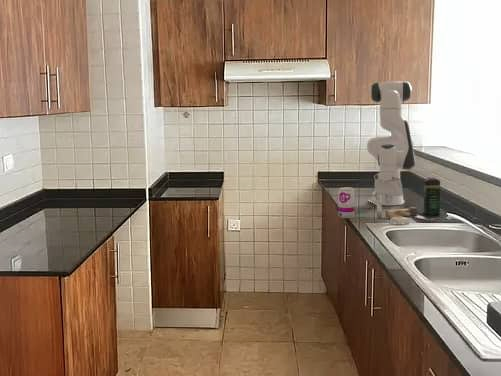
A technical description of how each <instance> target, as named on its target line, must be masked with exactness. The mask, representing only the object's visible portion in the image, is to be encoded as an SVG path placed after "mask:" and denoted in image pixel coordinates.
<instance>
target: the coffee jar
mask: <svg viewBox="0 0 501 376" xmlns="http://www.w3.org/2000/svg"><path fill="white" fill-rule="evenodd" d="M423 212H424V214H426V215H432V216H433V215H439V214H441V180H440V179H438V178H436V177H427V178H425V179H424V180H423Z"/></svg>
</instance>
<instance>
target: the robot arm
mask: <svg viewBox="0 0 501 376" xmlns="http://www.w3.org/2000/svg"><path fill="white" fill-rule="evenodd" d="M370 87H371V88H370V89H369V95H370V98H371V100H372V101H373V102H374V103H375V102H376V103H379V102H380V104H379V121H380V122H379V124H380V127H381V128H382V129H383V130H385V131H388V132H389V133H391V135H390V136H389V135H388V136H387V135H386V136H385V135H383V136H376V137H371V138H370V139H369V140H368V142H367V144H366V149H367V151H368V154H370V155H371V156H372V157H373V158H374V159H375V160H376V162H377V164H378V166H379V169H378V171H379V173H376V174H375V175H374V176H373V178H374V190H373V191H372V193H371V194H372V195H371V199H368V200H367V202H368V201H369V202H368V203H370V202H371V203H370V204H372V203H373V204H372V205H375V206H377V204H382V206H400V205H404V203H405V200H404V193H403V184H402V179H401V170H409V171H410V170H411V169H413V168H414V167H415V166H416V162H417V159H416V155H415V152H414V141H413V139H412V136H411V131H410V125H409V123H408V121H407V119H405V118H404V117H403V115H402V103H404V102H407V101H409V99H411V96H412V93H413V88H412V85H411V83H410V82H409V81H395V80H393V81H392V80H391V81H383V82H375V83H372V85H371V86H370Z"/></svg>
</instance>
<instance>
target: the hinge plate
mask: <svg viewBox="0 0 501 376" xmlns="http://www.w3.org/2000/svg"><path fill="white" fill-rule="evenodd" d="M408 217H411V218H416V219H420V220H424V221H435V218H431V217H427V216H423V215H419V214H418V213H417V215H409V216H408Z"/></svg>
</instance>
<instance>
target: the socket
mask: <svg viewBox="0 0 501 376" xmlns="http://www.w3.org/2000/svg"><path fill="white" fill-rule="evenodd" d="M393 223H396V224H402V223H409V224H410V218H408V217H405V216H399V217H390V224H393ZM396 224H395V225H396ZM402 225H403V224H402Z"/></svg>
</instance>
